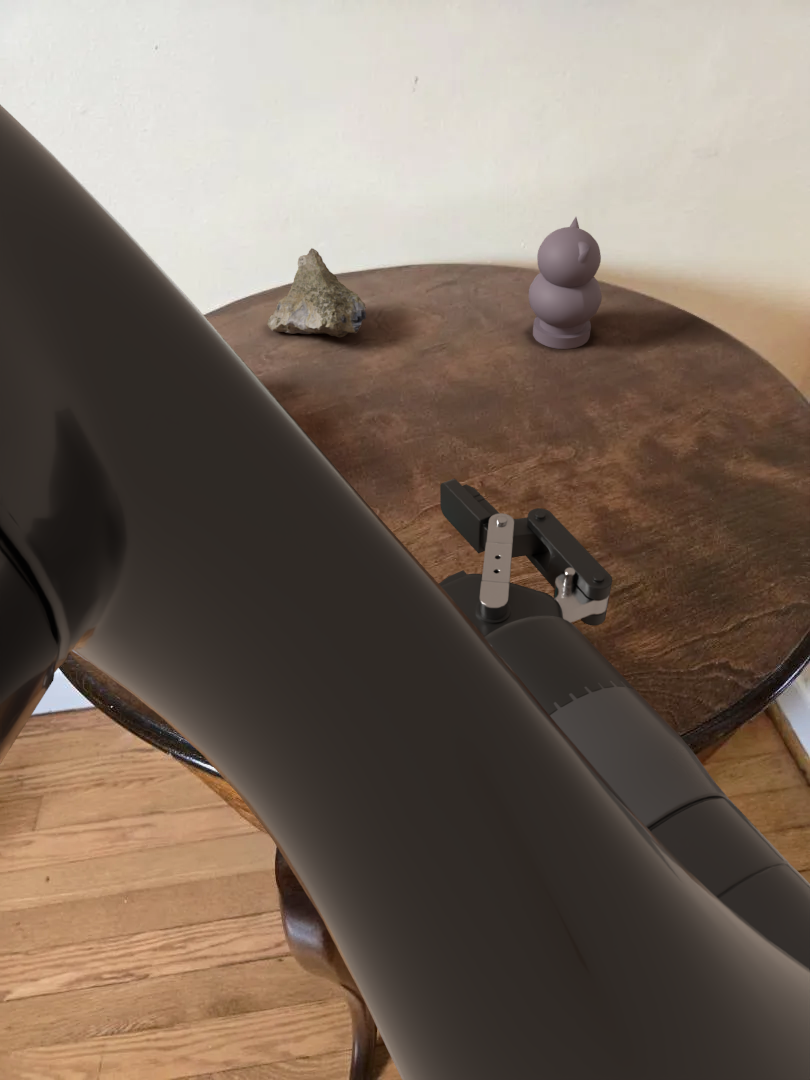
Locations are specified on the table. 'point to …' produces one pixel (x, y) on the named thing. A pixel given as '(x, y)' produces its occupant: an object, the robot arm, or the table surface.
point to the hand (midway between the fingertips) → (372, 522)
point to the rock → (317, 302)
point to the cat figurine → (565, 288)
